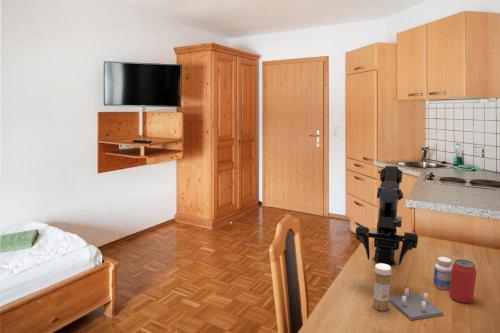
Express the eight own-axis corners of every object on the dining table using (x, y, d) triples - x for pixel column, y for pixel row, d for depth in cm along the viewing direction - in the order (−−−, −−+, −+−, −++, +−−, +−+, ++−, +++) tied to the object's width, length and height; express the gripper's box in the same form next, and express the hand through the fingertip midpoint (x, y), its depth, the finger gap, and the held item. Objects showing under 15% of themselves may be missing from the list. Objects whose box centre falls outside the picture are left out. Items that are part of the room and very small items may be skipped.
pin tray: (417, 295, 116) (418, 284, 115) (442, 315, 105) (444, 302, 104) (387, 300, 113) (388, 288, 112) (410, 320, 103) (411, 307, 102)
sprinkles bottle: (385, 303, 111) (388, 262, 109) (390, 311, 107) (393, 269, 104) (370, 302, 112) (373, 262, 109) (374, 311, 107) (377, 269, 105)
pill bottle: (435, 280, 126) (437, 254, 124) (452, 285, 122) (455, 258, 121) (431, 286, 121) (434, 259, 120) (449, 291, 118) (452, 264, 116)
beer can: (464, 292, 118) (468, 258, 115) (477, 303, 111) (482, 267, 109) (444, 292, 117) (448, 258, 115) (456, 304, 111) (461, 268, 109)
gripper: (357, 202, 118) (351, 246, 110) (420, 209, 111) (418, 256, 103) (358, 218, 126) (353, 260, 118) (416, 225, 119) (415, 270, 111)
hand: (383, 261), depth 112 cm, fingers open, 9 cm apart
